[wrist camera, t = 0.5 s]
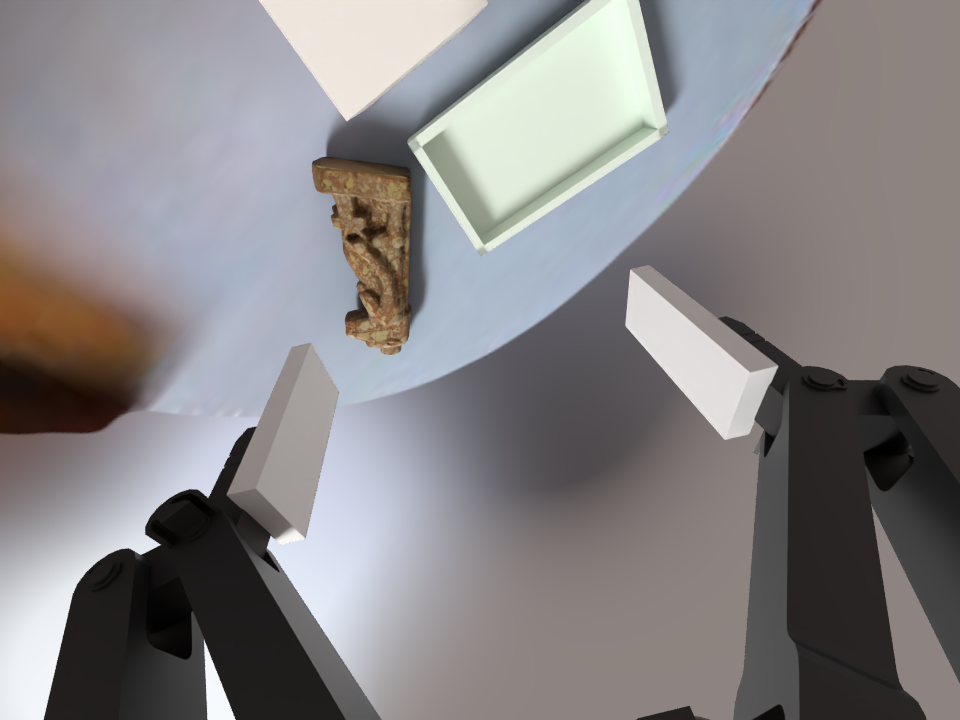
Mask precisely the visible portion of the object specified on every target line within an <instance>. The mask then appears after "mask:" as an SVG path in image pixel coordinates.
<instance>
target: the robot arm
mask: <svg viewBox="0 0 960 720" xmlns="http://www.w3.org/2000/svg"><path fill="white" fill-rule="evenodd" d="M626 327H627V328H628V329H629V330H630V332H631V333H632V334H633V335H634V336H635V337H636V339H637V340H638V341H639V342H640V343H641V344H642V345H643V347H644V348H645V349H646V350H647V351H648V352H649V353H650V355H652V357H653V358H654V359H655V360H656V361H657V363H658V364H659V365H660V366H661V367H662V368H663V369H664V371H665V372H666V373H667V374H668V375H669V376H670V377H671V378H672V380H673V381H674V382H675V383H676V384H677V385H678V387H679V388H680V389H681V390H682V391H683V392H684V393H685V395H686V396H687V397H688V398H689V399H690V400H691V402H692V403H693V404H694V405H695V406H696V407H697V408H698V410H699V411H700V412H701V413H702V414H703V415H704V416H705V418H707V420H708V421H709V422H710V423H711V424H712V426H713V427H714V428H715V429H716V430H717V431H718V432H719V434H720V435H721V436H722V437H723V438H724V439H725V440H726V439H730V438H734V437H738V436H743V435H747V434H749V433H750V430H751V428H752V426H753V424H754V421H756V422H757V423H758V424H759V425H760V426H761V427H762V428H763V429H764V431H763V434H762V436H761V438H760V440H759V442H758V444H757V446H756V448H755V451H754V453H755V454H758V453H759V451H760V455H759V470H758V483H757V496H756V510H755V523H754V537H753V551H752V565H751V578H750V593H749V606H748V619H747V633H746V646H745V660H744V670H743V675H742V679H741V682H740V685H739V689H738V692H737V697H736V702H735V709H734V719H733V720H926V716H925V714H924V712H923V711H922V709H921V707H920V705H919V703H918V702H917V701H916V700H915V699H914V698H913V697H912V696H910V695H909V694H908V693H907V692H906V691H904V690H903V688H902V686H901V684H900V682H899V679H898V675H897V670H896V664H895V657H894V651H893V644H892V637H891V631H890V625H889V618H888V611H887V605H886V598H885V592H884V585H883V579H882V572H881V565H880V559H879V553H878V546H877V539H876V533H875V526H874V520H873V513H872V507H871V504H872V506H873V508H874V510H875V512H876V514H877V516H878V518H879V520H880V522H881V525H882V527H883V528H884V531H885V533H886V535H887V536H888V539H889V541H890V543H891V545H892V547H893V549H894V551H895V553H896V555H897V557H898V559H899V561H900V563H901V565H902V567H903V569H904V571H905V573H906V575H907V577H908V579H909V581H910V583H911V585H912V587H913V589H914V591H915V593H916V595H917V597H918V599H919V601H920V604H921V605H922V607H923V610H924V612H925V614H926V616H927V617H928V620H929V622H930V624H931V626H932V628H933V630H934V632H935V634H936V636H937V638H938V640H939V642H940V644H941V646H942V648H943V650H944V652H945V654H946V656H947V658H948V660H949V662H950V664H951V666H952V668H953V670H954V672H955V674H956V676H957V678H958V680H959V682H960V388H959V387H958V386H957V385H956V384H955V383H954V382H952V381H951V380H950V379H948V378H947V377H945V376H943V375H941V374H939V373H937V372H935V371H932V370H929V369H925V368H921V367H914V366H906V365H905V366H894V367H891V368H888V369H887V370H886V371H885V373H884V374H883V376H882V377H881V379H880V380H876V381H875V380H847V379H846V378H845V377H844V376H842V375H840V374H838V373H836V372H834V371H832V370H829V369H825V368H821V367H812V366H805V367H802V366H801V365H800V364H798V363H797V362H796V361H794V360H793V359H791V358H790V357H789V356H787V355H786V354H785V353H783V352H782V351H780V350H779V349H778V348H776V347H775V346H773V345H772V344H771V343H769V342H768V341H765V339H764V338H763V337H761V336H760V335H759V334H755V331H753V330H751V329H750V328H749V327H747V326H746V325H745V324H744V323H742V322H739V321H737V320H734V319H732V318H729V317H721V318H716V317H715V316H714V315H712V314H711V313H710V312H708V311H707V310H706V309H705V308H703V307H702V306H701V305H699V304H698V303H697V302H696V301H694V300H693V299H692V298H690V297H689V296H688V295H687V294H685V293H684V292H683V291H681V290H680V289H679V288H678V287H676V286H675V285H674V284H673V283H671V282H670V281H669V280H667V279H666V278H665V277H664V276H662V275H661V274H660V273H658V272H657V271H656V270H655V269H653V268H652V267H651V266H649V265H647V266H643V267H639V268H634V269H631V270H630V282H629V293H628V303H627V316H626ZM338 395H339V391H338V390H337V388H336V386H335V384H334V383H333V381H332V379H331V377H330V376H329V374H328V372H327V370H326V369H325V367H324V365H323V363H322V362H321V360H320V358H319V356H318V355H317V353H316V351H315V349H314V347H313V346H312V344H311V343H308V344H304V345H300V346H295V347H292V348H291V351H290V353H289V355H288V357H287V360H286V362H285V364H284V366H283V369H282V371H281V373H280V376H279V378H278V380H277V382H276V385H275V387H274V389H273V391H272V394H271V396H270V398H269V400H268V403H267V405H266V407H265V409H264V412H263V414H262V416H261V418H260V421H259V423H258V425H257V427H252V428H248V429H247V430H246V431H245V432H244V433H243V434H242V435H241V436H240V437H239V439H238V440H237V441H236V442H235V444H234V446H233V448H232V450H231V453H230V455H229V456H230V457H229V458H228V459H227V461H226V463H225V465H224V467H225V468H224V469H222V471H221V473H220V475H219V477H218V480H217V481H216V484H215V486H214V488H213V490H212V492H211V494H210V496H209V498H207V497H206V496H205V495H204V494H203V493H201V492H200V491H199V490H191V489H189V490H186V491H183V492H180V493H178V494H176V495H174V496H173V497H171V498H169V499H168V500H167V501H166V502H164V503H163V504H162V505H160V506H159V507H158V508H157V509H156V511H155V512H154V513H153V514H152V515H151V517H150V518H149V521H148V523H147V524H146V527H145V534H146V535H147V536H149V537H150V538H152V539H153V540H155V541H156V542H158V543H159V544H161V545H160V546H158V547H156V548H154V549H152V550H150V551H148V552H146V553H144V554H142V555H140V554H138V553H136V552H135V551H133V550H131V549H129V548H128V549H120V550H117V551H115V552H113V553H110V554H108V555H107V556H106V557H104V558H103V559H101V560H100V561H98V562H97V563H96V564H95V565H93V567H91V568H90V569H89V570H88V571H87V572H86V573H85V575H84V576H83V577H82V579H81V580H80V581H79V583H78V584H77V586H76V588H75V591H74V593H73V596H72V600H71V605H70V609H69V613H68V618H67V622H66V627H65V631H64V635H63V639H62V643H61V648H60V652H59V656H58V661H57V665H56V669H55V673H54V678H53V682H52V686H51V691H50V695H49V699H48V703H47V708H46V712H45V716H44V720H207V701H206V679H205V656H204V640H205V643H206V645H207V648H208V650H209V653H210V655H211V658H212V660H213V663H214V666H215V668H216V671H217V673H218V676H219V678H220V681H221V683H222V686H223V688H224V691H225V693H226V696H227V699H228V701H229V703H230V706H231V709H232V711H233V714H234V716H235V719H236V720H381V719H380V717H379V715H378V714H377V712H376V711H375V709H374V708H373V706H372V705H371V703H370V702H369V700H368V699H367V697H366V696H365V694H364V693H363V691H362V689H361V688H360V687H359V685H358V683H357V682H356V680H355V679H354V677H353V676H352V674H351V673H350V671H349V670H348V668H347V667H346V665H345V664H344V662H343V661H342V659H341V658H340V656H339V655H338V653H337V651H336V650H335V648H334V647H333V645H332V644H331V642H330V641H329V639H328V638H327V636H326V635H325V633H324V632H323V630H322V629H321V627H320V625H319V624H318V623H317V621H316V619H315V618H314V616H313V615H312V614H311V612H310V610H309V609H308V607H307V606H306V604H305V603H304V601H303V600H302V598H301V597H300V595H299V593H298V592H297V590H296V589H295V588H294V586H293V584H292V583H291V581H290V580H289V578H288V577H287V575H286V574H285V572H284V571H283V569H282V568H281V566H280V565H279V563H278V562H277V560H276V558H275V557H274V555H273V554H272V553H271V552H270V551H269V550H268V549H267V546H268V542H269V539H270V536H272V537H273V538H274V539H275V540H276V541H277V542H278V543H279V544H286V543H290V542H294V541H298V540H303V539H305V538H306V534H307V530H308V526H309V521H310V517H311V512H312V508H313V504H314V499H315V495H316V491H317V486H318V482H319V478H320V473H321V469H322V465H323V460H324V456H325V451H326V447H327V443H328V438H329V434H330V430H331V425H332V421H333V417H334V412H335V408H336V403H337V399H338ZM637 720H709V719H706V718H702V717H697V716H694V715H693V712H692V710H691V708H690V706H687V707H683V708H679V709H675V710H671V711H667V712H663V713H658V714H654V715H650V716H646V717H642V718H638V719H637Z"/></svg>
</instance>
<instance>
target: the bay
mask: <svg viewBox="0 0 960 720" xmlns="http://www.w3.org/2000/svg"><path fill="white" fill-rule="evenodd" d="M259 1H260V2H261V4H262V5H263V7H264V8H265V9H266V11H267V12H268V13H269V15H270V16H271V18H272V19H273V20H274V22H275V23H276V24H277V26H278V27H279V29H280V30H281V31H282V33H283V34H284V35H285V37H286V38H287V40H288V41H289V42H290V44H291V45H292V47H293V48H294V49H295V51H296V52H297V53H298V55H299V56H300V58H301V59H302V60H303V62H304V63H305V64H306V66H307V67H308V69H309V70H310V71H311V73H312V74H313V76H314V77H315V78H316V80H317V81H318V82H319V84H320V85H321V87H322V88H323V89H324V91H325V92H326V93H327V95H328V96H329V98H330V99H331V100H332V102H333V103H334V104H335V106H336V107H337V109H338V110H339V111H340V113H341V114H342V116H343V117H344V118H345V120H346V121H348V120H350V119H352V118H353V117H355V116H356V115H358V114H360V113H361V112H363V111H364V110H366V109H368V108H369V107H370V106H371V105H373V104H374V103H375V102H376V101H377V100H379V99H380V98H381V97H382V96H383V95H385V94H386V93H387V92H388V91H389V90H391V89H392V88H393V87H394V86H395V85H397V84H398V83H399V82H400V81H402V80H403V79H404V78H405V77H406V76H408V75H409V74H410V73H411V72H412V71H414V70H415V69H416V68H417V67H418V66H420V65H421V64H422V63H423V62H424V61H426V60H427V59H428V58H429V57H430V56H432V55H433V54H434V53H435V52H437V51H438V50H439V49H440V48H441V47H443V46H444V45H445V44H446V43H447V42H449V41H450V40H451V39H452V38H453V37H455V36H456V35H457V34H458V33H459V32H461V31H462V30H463V29H464V28H465V27H466V26H467V25H468V24H469V23H470V22H471V21H472V20H473V19H474V18H475V17H476V16H477V15H478V14H479V13H480V12H481V11H482V9H483V8H484V7H485V6H486V5H487V4H488V2H487V0H259Z"/></svg>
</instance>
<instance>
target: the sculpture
mask: <svg viewBox="0 0 960 720" xmlns="http://www.w3.org/2000/svg"><path fill="white" fill-rule="evenodd" d="M312 172H313V179H314V184H315V188H316V190H317V191H319V192H321V193H327V194H332V195H333V197H334V199H335V202H336V205H334V206H333V207H332V209H333V213H334V214H333V215H331V220H332V223H333V226H334V228H335V229H340V230H341V231H342V239H343V251H344V254H345V257H346V259H347V261H348V263H349V264H350V266H351V267H352V269H353V271H354V272H355V274H356V276H357V277H358V279H359V282H358V283H357V289H358V290H359V291H360V292H359V297H360V299H361V301H362V303H363V304H364V306H365V308H362V309H359V310H353V311H349V312H348V313H347V314H346V317H345V325H346V335H347V336H349V337H352V338H356V339H359V340H363V341H365V342H366V344H367V345H368V346H369V347H376V348H380V349H381V352H382V353H384V354H387V355H393V354H396V353H398V352H400V350H401V345H403V344H404V343H406V342H407V340H408V338H409V329H410V315H411V306H410V304H409V303H408V293H409V261H410V223H411V207H412V206H411V171H410V168H406V167H398V166H391V165H384V164H377V163H369V162H361V161H354V160H347V159H339V158H332V157H322V158H319V159H317V160H315V161H313V163H312Z"/></svg>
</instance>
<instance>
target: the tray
mask: <svg viewBox="0 0 960 720" xmlns="http://www.w3.org/2000/svg"><path fill="white" fill-rule="evenodd" d="M668 133H669V130H668V126H667V121H666V117H665V113H664V108H663V104H662V100H661V95H660V91H659V86H658V82H657V78H656V73H655V69H654V65H653V60H652V56H651V51H650V47H649V43H648V38H647V34H646V30H645V25H644V21H643V16H642V12H641V8H640V3H639V0H585V1H583V2H582V3H581V4H580V5H578V6H577V7H576V8H575V9H573V10H572V11H571V12H569V13H568V14H567V15H566V16H564V17H563V18H562V19H560V20H559V21H558V22H557V23H555V24H554V25H553V26H552V27H550V28H549V29H548V30H546V31H545V32H544V33H543V34H541V35H540V36H539V37H537V38H536V39H535V40H534V41H532V42H531V43H530V44H529V45H527V46H526V47H525V48H523V49H522V50H521V51H520V52H518V53H517V54H516V55H514V56H513V57H512V58H511V59H509V60H508V61H507V62H505V63H504V64H503V65H502V66H500V67H499V68H498V69H497V70H495V71H494V72H493V73H491V74H490V75H489V76H488V77H486V78H485V79H484V80H482V81H481V82H480V83H479V84H477V85H476V86H475V87H474V88H472V89H471V90H470V91H468V92H467V93H466V94H465V95H463V96H462V97H461V98H459V99H458V100H457V101H456V102H454V103H453V104H452V105H450V106H449V107H448V108H447V109H445V110H444V111H443V112H442V113H440V114H439V115H438V116H436V117H435V118H434V119H433V120H431V121H430V122H429V123H427V124H426V125H425V126H424V127H422V128H421V129H420V130H419V131H417V132H416V133H415V134H413V135H412V136H411V137H410V138H408V145H409V147H410V148H411V150H412V151H413V153H414V154H415V156H416V157H417V159H418V160H419V162H420V163H421V165H422V166H423V168H424V170H425V171H426V173H427V174H428V176H429V177H430V179H431V180H432V182H433V183H434V185H435V186H436V188H437V189H438V191H439V193H440V194H441V196H442V197H443V199H444V200H445V202H446V203H447V205H448V206H449V208H450V209H451V211H452V212H453V214H454V215H455V217H456V219H457V220H458V222H459V223H460V225H461V226H462V228H463V229H464V231H465V232H466V234H467V235H468V237H469V238H470V240H471V242H472V243H473V245H474V246H475V248H476V249H477V251H478V252H479V254H480V255H481V256H483V255H484V254H486V253H487V252H489V251H491V250H492V249H494V248H495V247H497V246H498V245H500V244H501V243H503V242H504V241H506V240H507V239H509V238H510V237H512V236H513V235H515V234H516V233H518V232H519V231H521V230H522V229H524V228H525V227H527V226H528V225H530V224H531V223H533V222H535V221H536V220H538V219H539V218H541V217H542V216H544V215H545V214H547V213H548V212H550V211H551V210H553V209H554V208H556V207H557V206H559V205H560V204H562V203H563V202H565V201H566V200H568V199H569V198H571V197H572V196H574V195H575V194H577V193H578V192H580V191H582V190H583V189H585V188H586V187H588V186H589V185H591V184H592V183H594V182H595V181H597V180H598V179H600V178H601V177H603V176H604V175H606V174H607V173H609V172H610V171H612V170H613V169H615V168H616V167H618V166H619V165H621V164H622V163H624V162H626V161H627V160H629V159H630V158H632V157H633V156H635V155H636V154H638V153H639V152H641V151H642V150H644V149H645V148H647V147H648V146H650V145H651V144H653V143H654V142H656V141H657V140H659V139H660V138H662V137H663V136H665V135H666V134H668Z"/></svg>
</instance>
